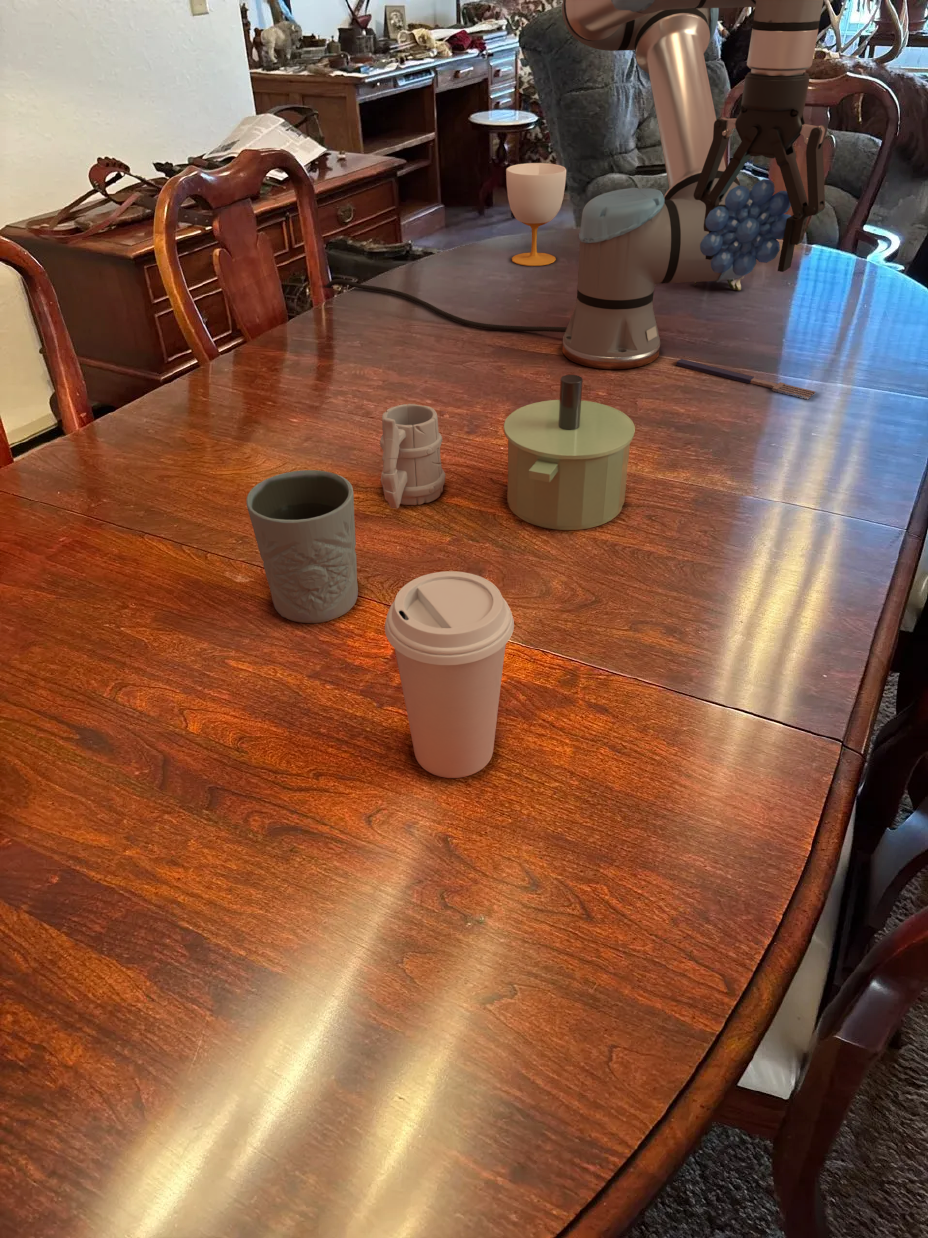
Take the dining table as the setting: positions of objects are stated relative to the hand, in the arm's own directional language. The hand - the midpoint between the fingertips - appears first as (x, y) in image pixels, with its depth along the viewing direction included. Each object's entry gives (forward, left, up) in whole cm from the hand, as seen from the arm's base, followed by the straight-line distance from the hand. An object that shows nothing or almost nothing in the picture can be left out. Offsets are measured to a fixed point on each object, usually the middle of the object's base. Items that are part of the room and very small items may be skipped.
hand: (747, 262), depth 124 cm
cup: (-61, +37, -18) cm, 73 cm away
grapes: (-1, 0, -2) cm, 2 cm away
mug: (-15, -53, -18) cm, 58 cm away
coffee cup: (+16, -82, -18) cm, 86 cm away
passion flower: (-23, +42, -18) cm, 51 cm away
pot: (0, -42, -18) cm, 46 cm away
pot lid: (0, -42, -9) cm, 43 cm away
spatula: (0, +4, -18) cm, 18 cm away
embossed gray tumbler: (-9, -74, -18) cm, 77 cm away
